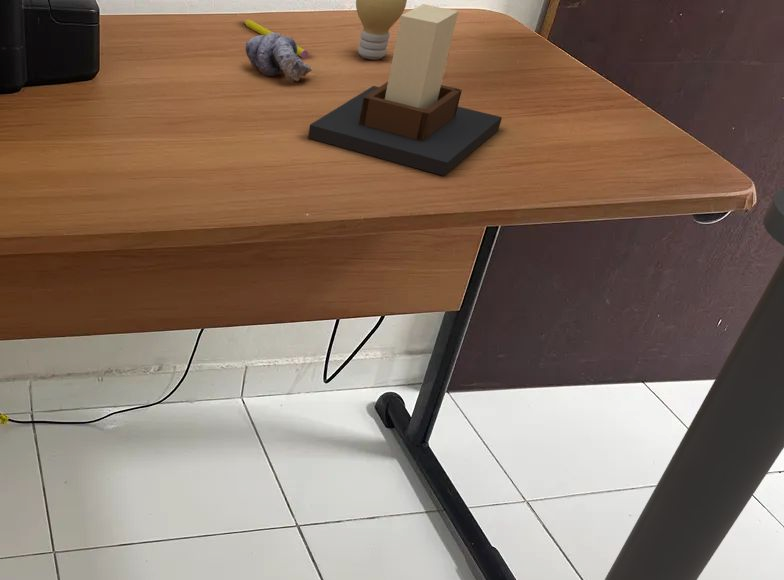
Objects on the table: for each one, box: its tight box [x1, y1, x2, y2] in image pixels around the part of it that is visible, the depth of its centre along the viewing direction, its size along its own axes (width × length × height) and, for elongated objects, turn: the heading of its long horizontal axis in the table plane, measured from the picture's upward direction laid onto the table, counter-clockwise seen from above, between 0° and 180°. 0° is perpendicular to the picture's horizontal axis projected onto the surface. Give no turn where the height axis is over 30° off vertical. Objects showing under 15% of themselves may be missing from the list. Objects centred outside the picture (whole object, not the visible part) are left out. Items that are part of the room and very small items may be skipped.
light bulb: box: [355, 0, 407, 60], centre depth 118 cm, size 6×6×10 cm
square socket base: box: [307, 81, 503, 177], centre depth 100 cm, size 16×16×4 cm
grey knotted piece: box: [245, 31, 313, 82], centre depth 113 cm, size 5×5×10 cm
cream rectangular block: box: [385, 3, 459, 109], centre depth 96 cm, size 4×6×11 cm
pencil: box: [243, 19, 309, 59], centre depth 125 cm, size 16×1×1 cm, turn 25°
